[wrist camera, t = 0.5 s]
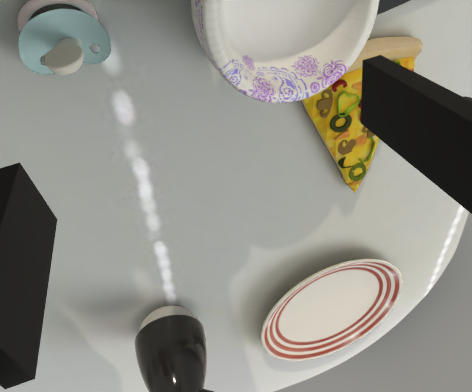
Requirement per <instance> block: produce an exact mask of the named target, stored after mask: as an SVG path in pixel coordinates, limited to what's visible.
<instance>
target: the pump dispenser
mask: <svg viewBox="0 0 472 392" xmlns="http://www.w3.org/2000/svg"><path fill="white" fill-rule="evenodd" d="M135 350H136V356H137V360H138V364H139V368H140V372H141V375H142V377H143V380H144V382H145V385H146V387H147V389H148V391H149V392H213V391H210V390H206V389H203V388H204V382H205V376H206V364H207V352H206V340H205V333H204V329H203V326H202V324H201V322H200V321H199V320H198V319H197V318H196V316H195V315H194V314H193V313H192V312H191V311H189V310H188V309H186V308H184V307H181V306H175V305H171V306H164V307H161V308H158V309H156V310H154V311H153V312H151V313H150V314H149V315H148V316H147V317H146V318H145V319H144V320H143V322H142V323H141V325H140V328H139V331H138V334H137V336H136V339H135Z"/></svg>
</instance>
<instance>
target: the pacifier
mask: <svg viewBox="0 0 472 392" xmlns="http://www.w3.org/2000/svg"><path fill="white" fill-rule="evenodd" d="M58 3H60V4H69V5H73V6H75V7H77V8H79V9H81V10H82V11H83V12H82V11H79V10H74V9H56V10H51V11H47V12H44V13H42V14H39V15H38V16H36V17H34V18H33V19H31V20H30V18H31V17H32V15H33V14H34V13H35V12H36V11H37V10H38V9H40V8H42V7H44V6H47V5H50V4H58ZM17 24H18V28H19V30H20V32H21V33H20V36H19V44H18V47H19V54H20V57H21V59H22V61H23V63H24V64H25V65H26V66H27V67H28V68H29V69H30V70H32V71H33V72H36V73H38V74H43V75H51V74H55V73H57V74H61V75H68V74H71V73H74V72H75V71H77V70H78V69H79V68H80V67H81V65H82V63H85V64H97V63H101V62H103V61H105V60H106V59H107V58H108V56H109V55H110V52H111V42H110V38H109V36H108V34H107V32H106V30H105V29H104V27H103V26H102V25H101V24H100V23H99V22H98V21H97V13H96V11H95V9H94V7H93V6H92V5H91V4H90V3H89V2H88V1H87V0H29V1H28V2H27V3H26V4H25V5H24V6H23V7H22V8H21V10H20V12H19V14H18V18H17ZM93 43H94V44H97V45H98V46H99V47H100V52H98V53H95V52H93V51H92V50H91V48H90V46H91V44H93ZM43 55H45V57H44V63H45V64H46V65H44V64H42V63H41V61H40V57H41V56H43Z"/></svg>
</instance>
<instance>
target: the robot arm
mask: <svg viewBox="0 0 472 392" xmlns="http://www.w3.org/2000/svg"><path fill="white" fill-rule="evenodd" d="M361 124H362V125H364V126H365V127H366V128H367V129H368V130H370V131H371V132H372V133H373V134H375V135H376V136H377V137H378V138H379V139H381V140H382V141H383V142H384V143H386V144H387V145H388V146H389V147H390V148H392V149H393V150H394V151H395V152H397V153H398V154H399V155H400V156H402V157H403V158H404V159H405V160H406V161H408V162H409V163H410V164H411V165H413V166H414V167H415V168H416V169H417V170H419V171H420V172H421V173H422V174H424V175H425V176H426V177H427V178H428V179H430V180H431V181H432V182H433V183H435V184H436V185H437V186H438V187H440V188H441V189H442V190H443V191H444V192H446V193H447V194H448V195H449V196H451V197H452V198H453V199H454V200H455V201H457V202H458V203H459V204H460V205H462V206H463V207H464V208H465V209H466V210H468V211H469V212H470V213H472V98H470V97H462V96H460V95H458V94H456V93H454V92H452V91H450V90H448V89H446V88H444V87H442V86H440V85H438V84H436V83H434V82H432V81H430V80H429V79H427V78H425V77H423V76H421V75H419V74H417V73H415V72H413V71H411V70H409V69H407V68H405V67H403V66H401V65H399V64H397V63H395V62H394V61H392V60H390V59H388V58H386V57H384V56H382V55H378V56H375V57H372V58H368V59H365V60H363V62H362V93H361ZM56 224H57V218H56V217H55V215H54V214H53V212H52V211H51V209H50V208H49V206H48V205H47V203H46V202H45V200H44V199H43V197H42V196H41V194H40V193H39V191H38V190H37V188H36V187H35V185H34V184H33V182H32V181H31V179H30V177H29V176H28V174H27V173H26V171H25V170H24V168H23V167H22V165H21V164H20V163H17V164H14V165H10V166H7V167H3V168H0V386H2V387H3V388H4V389H7V388H10V387H13V386H16V385H18V384H21V383H24V382H27V381H30V380H32V379H35V375H36V367H37V360H38V353H39V346H40V339H41V332H42V324H43V317H44V310H45V303H46V296H47V289H48V281H49V274H50V267H51V260H52V253H53V246H54V238H55V231H56Z"/></svg>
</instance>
